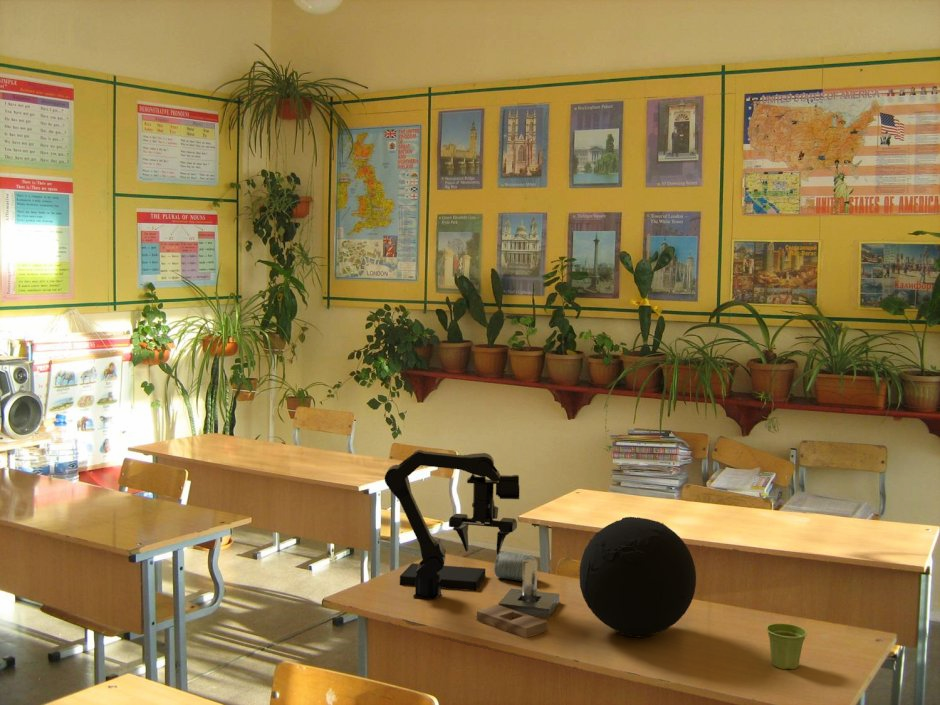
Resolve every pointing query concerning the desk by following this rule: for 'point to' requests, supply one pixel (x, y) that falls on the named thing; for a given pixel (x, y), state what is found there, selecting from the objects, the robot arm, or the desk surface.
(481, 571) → the external hard drive
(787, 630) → the plant pot
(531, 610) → the block
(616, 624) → the sphere
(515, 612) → the wooden block with hole
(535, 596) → the steel axle
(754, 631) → the desk surface
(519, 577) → the spool
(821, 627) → the desk surface
